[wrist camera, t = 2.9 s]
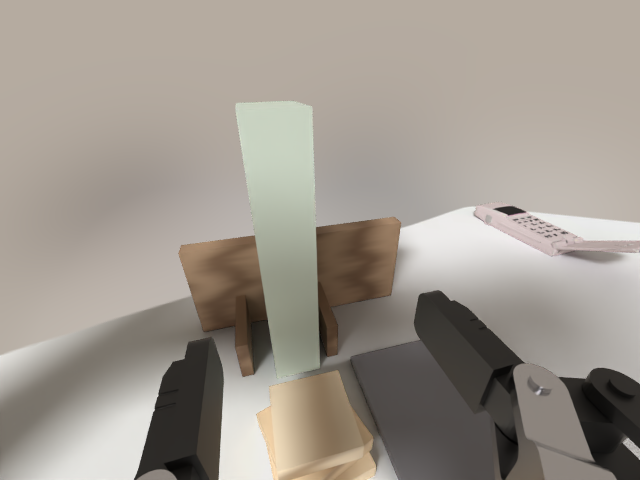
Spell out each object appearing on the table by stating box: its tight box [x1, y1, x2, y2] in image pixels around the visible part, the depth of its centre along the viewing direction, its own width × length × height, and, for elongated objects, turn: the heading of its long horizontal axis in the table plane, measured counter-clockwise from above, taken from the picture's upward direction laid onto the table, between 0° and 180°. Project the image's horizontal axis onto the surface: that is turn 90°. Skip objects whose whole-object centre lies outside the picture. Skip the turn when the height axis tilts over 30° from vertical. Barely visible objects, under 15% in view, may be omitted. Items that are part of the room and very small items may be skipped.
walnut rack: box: [178, 217, 401, 377], centre depth 28 cm, size 22×8×10 cm, turn 104°
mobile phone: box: [474, 202, 640, 256], centre depth 44 cm, size 6×6×25 cm
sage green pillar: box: [236, 101, 320, 379], centre depth 22 cm, size 4×6×22 cm, turn 14°
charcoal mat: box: [351, 340, 495, 480], centre depth 22 cm, size 14×14×1 cm
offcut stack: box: [256, 370, 376, 480], centre depth 19 cm, size 7×6×4 cm
